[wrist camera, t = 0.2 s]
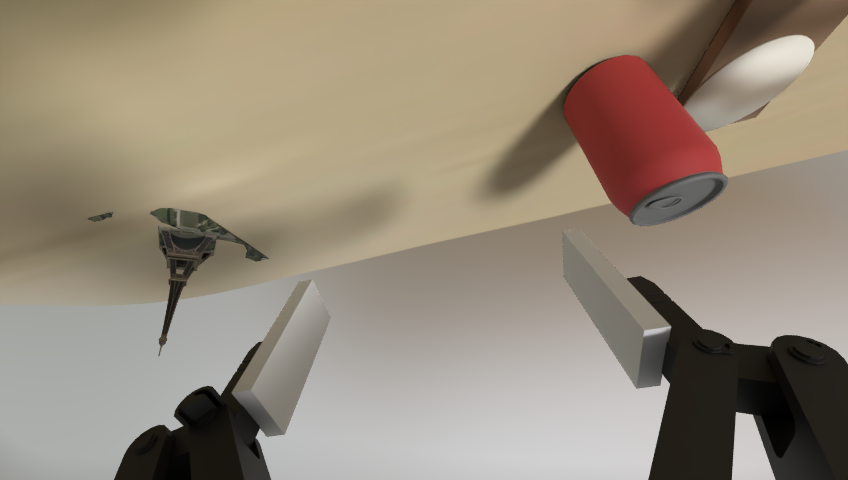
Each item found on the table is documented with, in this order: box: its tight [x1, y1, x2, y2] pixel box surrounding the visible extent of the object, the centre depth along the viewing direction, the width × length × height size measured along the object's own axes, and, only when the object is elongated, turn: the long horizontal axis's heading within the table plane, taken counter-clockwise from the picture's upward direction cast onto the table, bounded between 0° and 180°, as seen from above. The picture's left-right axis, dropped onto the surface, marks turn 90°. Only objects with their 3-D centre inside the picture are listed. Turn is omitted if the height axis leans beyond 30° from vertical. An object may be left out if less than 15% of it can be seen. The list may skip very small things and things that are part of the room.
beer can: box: [564, 55, 728, 226], centre depth 24 cm, size 7×7×12 cm
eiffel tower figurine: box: [89, 208, 268, 355], centre depth 34 cm, size 15×10×13 cm
